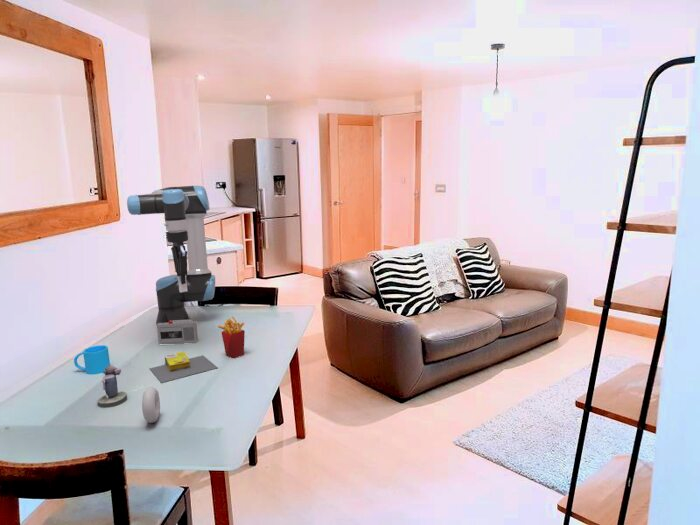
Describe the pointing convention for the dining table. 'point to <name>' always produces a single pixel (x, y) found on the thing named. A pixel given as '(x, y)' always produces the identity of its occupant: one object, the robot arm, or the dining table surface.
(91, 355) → the mug
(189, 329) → the cassette player
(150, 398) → the donut
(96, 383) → the dining table surface
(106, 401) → the figurine
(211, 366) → the mat
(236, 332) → the french fries
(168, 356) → the crayon box
